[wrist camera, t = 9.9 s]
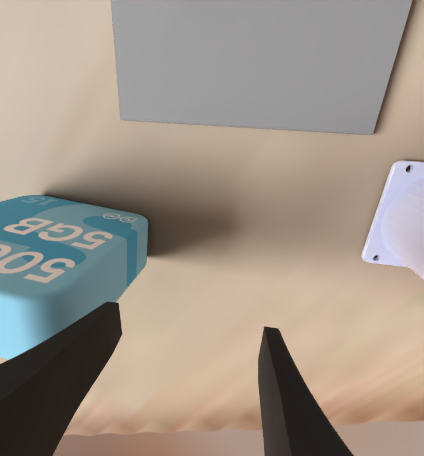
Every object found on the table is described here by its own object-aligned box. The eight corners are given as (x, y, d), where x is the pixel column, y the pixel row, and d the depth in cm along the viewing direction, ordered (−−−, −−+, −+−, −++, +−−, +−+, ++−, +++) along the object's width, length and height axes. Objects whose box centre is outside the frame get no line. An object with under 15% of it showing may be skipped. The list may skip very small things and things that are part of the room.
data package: (154, 216, 21) (47, 304, 10) (151, 259, 23) (58, 375, 12) (33, 192, 22) (-187, 248, 11) (39, 235, 24) (-144, 321, 13)
